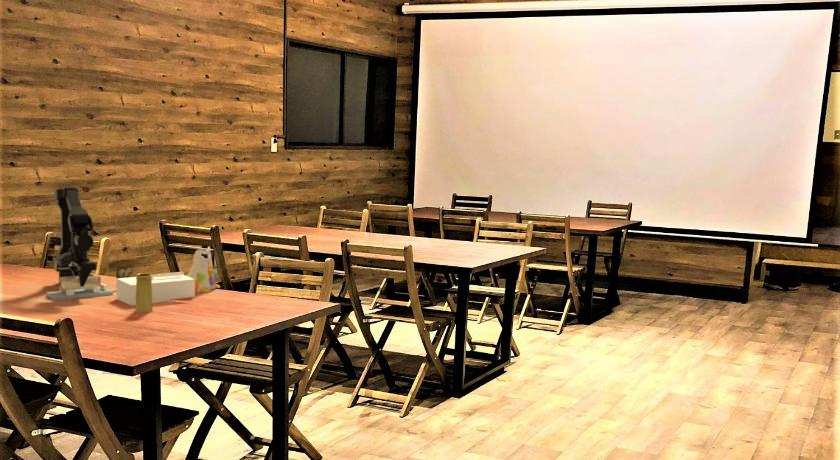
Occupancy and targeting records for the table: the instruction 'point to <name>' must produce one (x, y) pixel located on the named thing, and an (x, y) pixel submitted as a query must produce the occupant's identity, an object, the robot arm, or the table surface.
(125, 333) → the table surface
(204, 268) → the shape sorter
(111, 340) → the table surface
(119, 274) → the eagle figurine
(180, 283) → the tissue box
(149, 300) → the vase
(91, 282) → the beam with grey square
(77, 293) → the jig
